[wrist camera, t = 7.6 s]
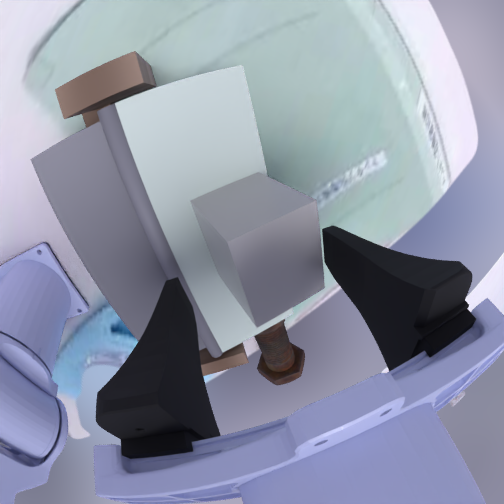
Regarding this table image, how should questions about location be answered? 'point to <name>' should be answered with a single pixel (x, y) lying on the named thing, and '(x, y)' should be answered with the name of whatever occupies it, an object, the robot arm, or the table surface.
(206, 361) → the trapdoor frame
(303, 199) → the grey cube
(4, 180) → the table surface
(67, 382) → the table surface
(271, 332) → the bolt
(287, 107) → the table surface
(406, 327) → the robot arm
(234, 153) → the trapdoor
